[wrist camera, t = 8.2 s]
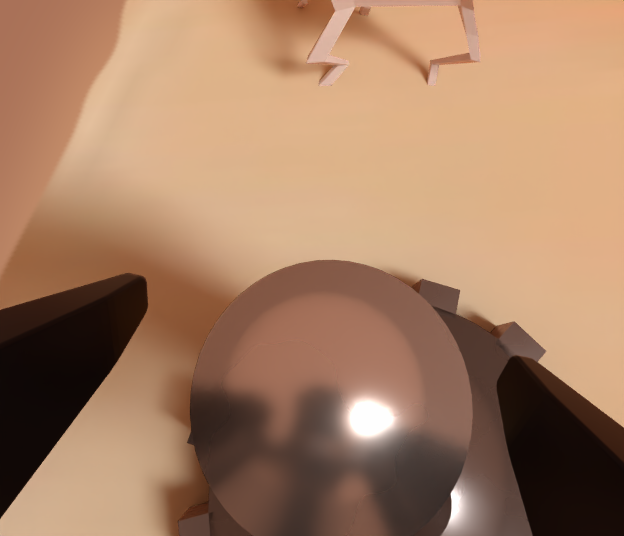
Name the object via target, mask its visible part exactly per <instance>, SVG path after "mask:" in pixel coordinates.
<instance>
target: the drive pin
mask: <svg viewBox="0 0 624 536" xmlns="http://www.w3.org/2000/svg"><path fill="white" fill-rule="evenodd" d="M190 419H191V431H192V437H193V441H194V446H195V451H196V454H197V457H198V460H199V463H200V466H201V469H202V471H203V474H204V476H205V478H206V480H207V482H208V484H209V486H210V488H211V489H212V491H213V493H214V494H215V496H216V497H217V499H218V500H219V502H220V503H221V504H222V506H223V507H224V509H225V510H226V511H227V512H228V513H229V514H230V515H231V516H232V517H233V518H234V520H235V521H236V522H237V523H238V524H239V525H240V526H242V527H243V528H244V529H245V530H247V531H248V532H249V533H250V534H252V535H253V536H413V535H415V534H416V533H417V532H418V531H419V530H420V529H422V528H423V527H424V526H425V525H426V524H428V522H429V521H430V520H431V519H432V518H433V517H434V516H435V515H436V513H437V512H438V511H439V510H440V509H441V508H442V506H443V505H444V503H445V502H446V500H447V499H448V497H449V496H450V494H451V493H452V491H453V489H454V487H455V485H456V483H457V481H458V479H459V477H460V475H461V472H462V469H463V466H464V463H465V460H466V457H467V454H468V449H469V444H470V439H471V433H472V419H473V409H472V394H471V388H470V382H469V376H468V373H467V369H466V366H465V363H464V359H463V357H462V354H461V352H460V350H459V347H458V345H457V343H456V341H455V339H454V337H453V335H452V334H451V332H450V330H449V328H448V327H447V325H446V324H445V322H444V321H443V320H442V318H441V317H440V316H439V314H438V313H437V312H436V310H435V309H434V308H433V307H432V306H431V305H430V304H429V303H428V302H427V301H426V300H425V299H424V298H423V297H422V296H421V295H420V294H418V293H417V292H416V291H415V290H414V289H412V288H411V287H410V286H408V285H407V284H405V283H404V282H402V281H401V280H399V279H397V278H396V277H394V276H392V275H390V274H388V273H386V272H384V271H382V270H379V269H376V268H373V267H370V266H367V265H364V264H359V263H354V262H350V261H339V260H317V261H310V262H304V263H299V264H296V265H292V266H289V267H285V268H283V269H280V270H278V271H276V272H274V273H271V274H269V275H267V276H266V277H264V278H262V279H260V280H259V281H257V282H255V283H254V284H253V285H251V286H250V287H249V288H247V289H246V290H245V291H244V292H242V293H241V294H240V295H239V296H238V297H237V298H236V299H235V300H234V301H233V302H232V303H231V304H230V305H229V306H228V307H227V308H226V310H225V311H224V312H223V313H222V315H221V316H220V317H219V319H218V320H217V321H216V323H215V325H214V326H213V328H212V330H211V331H210V333H209V335H208V336H207V338H206V341H205V343H204V345H203V348H202V350H201V352H200V355H199V358H198V361H197V365H196V368H195V371H194V376H193V382H192V388H191V399H190Z"/></svg>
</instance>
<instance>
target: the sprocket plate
mask: <svg viewBox="0 0 624 536" xmlns="http://www.w3.org/2000/svg"><path fill="white" fill-rule="evenodd" d="M412 289H414V290H415V291H416V292H417V293H418V294H420V295H421V296H422V297H423V298H424V299H425V300H426V301H427V302H428V303H429V304H430V305H431V306H432V307H433V308H434V309H435V310H436V312H437V313H438V314H439V316H440V317H441V318H442V320H443V321H444V322H445V324H446V325H447V327H448V328H449V330H450V332H451V334H452V335H453V337H454V339H455V341H456V343H457V345H458V347H459V350H460V352H461V354H462V357H463V359H464V363H465V366H466V369H467V373H468V376H469V382H470V388H471V394H472V409H473V419H472V433H471V439H470V444H469V449H468V454H467V457H466V460H465V463H464V466H463V469H462V472H461V475H460V477H459V479H458V481H457V483H456V485H455V487H454V489H453V491H452V493H451V494H450V496H449V497H448V499H447V500H446V502H445V503H444V505H443V506H442V508H441V509H440V510H439V511H438V512H437V513H436V515H435V516H434V517H433V518H432V519H431V520H430V521H429V522H428V524H426V525H425V526H424V527H423V528H422V529H420V530H419V531H418V532H417V533H416V534H415V535H413V536H532V532H531V529H530V525H529V522H528V519H527V515H526V512H525V508H524V505H523V502H522V498H521V495H520V491H519V488H518V484H517V481H516V478H515V474H514V471H513V467H512V464H511V460H510V457H509V453H508V449H507V444H506V440H505V434H504V429H503V423H502V417H501V412H500V406H499V401H498V395H497V389H496V384H497V380H498V378H499V376H500V374H501V372H502V371H503V369H504V367H505V365H506V364H507V362H508V360H509V359H510V357H512V356H513V355H519V356H524V357H529V358H532V359H534V360H535V361H537V362H538V361H539V359H540V358H541V357H542V356H543V355H544V353H545V352H546V350H545V349H543V348H542V347H541V346H540V345H539V344H538V343H537V342H536V341H535V340H534V339H533V338H532V337H531V336H529V335H528V334H527V333H526V332H525V331H524V330H523V329H522V328H521V327H520V326H519V325H518V324H517V323H515V322H510V323H506V324H502V325H498V326H496V327H495V328H494V329H493V331H492V332H491V333H489V332H487V331H486V330H484V329H483V328H481V327H480V326H478V325H477V324H475V323H473V322H471V321H469V320H467V319H465V318H463V317H461V316H459V315H457V314H456V310H457V305H458V299H459V294H460V290H458V289H454V288H451V287H448V286H444V285H441V284H438V283H434V282H431V281H427V280H424V279H421V280H420V281H419V282H418V283H416V284H415V285H414V286H413V287H412ZM187 443H189V444H192V445H194V441H193V437H192V431H191V434H190V437H189V439H188V442H187ZM178 527H179V535H180V536H253V535H252V534H250V533H249V532H248V531H247V530H245V529H244V528H243V527H242V526H240V525H239V524H238V523H237V522H236V521H235V520H234V518H233V517H232V516H231V515H230V514H229V513H228V512H227V511H226V510H225V509H224V507H223V506H222V504H221V503H220V502H219V500H218V499H217V497H216V496H215V494H214V493H213V491H212V489H211V488H210V486H209V502H208V503H204V504H200V505H197V506H193V507H189V509H188V510H187V511H186V512H185V513H184V515H183V516H182V517H181V518H180V519H179V521H178Z"/></svg>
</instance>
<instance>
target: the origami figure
mask: <svg viewBox="0 0 624 536" xmlns="http://www.w3.org/2000/svg"><path fill="white" fill-rule="evenodd" d="M331 1H332V4H333V6H334V9H335V12H334V14H333V16H332V17H331V19H330V20H329V22H328V24H327V25H326V27H325V28H324V30H323V32H322V33H321V35H320V37H319V38H318V40H317V42H316V43H315V45H314V47H313V48H312V50H311V52H310V53H309V55H308V58H307V61H306V63H309V64H326V65H334V66H333V67H332V68H331V69H330V70H329V71H328V72H327V73H326V74H325V76H324V77H323V78H322V79H321V80H320V81H319V86H330V85H332V84H333V83H334V82H335V81H336V79H337V78H338V77H339V76H340V75H341V74H342V72H343V71H344V70H345V69H346V68H347V67H348V66H349V61H348V60H344V59H341V58H338V57H335V56H332V55H329V54H330V52H331V50H332V48H333V46H334V44H335V43H336V41H337V39H338V37H339V35H340V34H341V32H342V30H343V28H344V26H345V25H346V23H347V21H348V19H349V17H350V16H351V14H352V12H353V10H354V9H355V7H360V10H359V12H360V14H361V15H367V16H368V14H369V11H370V8H371V7H374V6H456V5H458V8H459V12H460V15H461V19H462V22H463V26H464V29H465V32H466V35H467V41H468V46H469V52H470V53H466V54H461V55H455V56H450V57H445V58H440V59H435V60H430V65H429V72H428V78H427V84H428V85H434V86H435V84H436V79H437V73H438V67H439V65H445V64H459V63H473V62H480V58H481V53H480V48H479V38H478V31H477V26H476V20H475V14H474V7H473V0H331ZM307 4H308V2H307V0H301V1H300V2H299V3H298V5H297V7H302V8H303V7H304V6H306V5H307Z"/></svg>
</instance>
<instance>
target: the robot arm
mask: <svg viewBox="0 0 624 536" xmlns="http://www.w3.org/2000/svg"><path fill="white" fill-rule="evenodd" d="M147 308H148V297H147V282H146V279H145V278H144V277H143V276H140V275H136V274H131V273H126V274H122V275H119V276H115V277H112V278H108V279H105V280H102V281H98V282H95V283H91V284H88V285H84V286H81V287H77V288H74V289H71V290H67V291H64V292H60V293H57V294H53V295H50V296H46V297H43V298H40V299H36V300H33V301H29V302H26V303H22V304H19V305H16V306H12V307H9V308H5V309H2V310H0V518H1V517H2V516H3V514H4V513H5V512H6V510H7V509H8V508H9V506H10V505H11V504H12V502H13V501H14V500H15V498H16V497H17V496H18V494H19V493H20V492H21V490H22V489H23V488H24V486H25V485H26V484H27V482H28V481H29V480H30V478H31V477H32V476H33V474H34V473H35V472H36V470H37V469H38V468H39V466H40V465H41V464H42V462H43V461H44V460H45V458H46V457H47V455H48V454H49V453H50V451H51V450H52V449H53V447H54V446H55V445H56V443H57V442H58V441H59V439H60V438H61V437H62V435H63V434H64V433H65V431H66V430H67V429H68V427H69V426H70V425H71V423H72V422H73V421H74V419H75V418H76V417H77V415H78V414H79V413H80V411H81V410H82V409H83V407H84V406H85V405H86V403H87V402H88V401H89V399H90V398H91V397H92V395H93V394H94V393H95V391H96V390H97V389H98V387H99V386H100V385H101V383H102V382H103V381H104V379H105V378H106V377H107V375H108V374H109V373H110V371H111V370H112V368H113V367H114V365H115V364H116V362H117V361H118V359H119V358H120V356H121V354H122V353H123V351H124V349H125V348H126V346H127V344H128V343H129V341H130V339H131V337H132V336H133V334H134V332H135V331H136V329H137V327H138V326H139V324H140V322H141V320H142V319H143V317H144V315H145V313H146V311H147ZM496 389H497V395H498V401H499V406H500V412H501V417H502V423H503V429H504V434H505V440H506V444H507V449H508V453H509V457H510V460H511V464H512V467H513V471H514V474H515V478H516V481H517V484H518V488H519V491H520V495H521V498H522V502H523V505H524V508H525V512H526V515H527V519H528V522H529V525H530V529H531V532H532V536H624V428H623V427H622V426H621V425H620V424H618V423H617V422H616V421H614V420H613V419H612V418H610V417H609V416H608V415H606V414H605V413H604V412H602V411H601V410H600V409H598V408H597V407H596V406H594V405H593V404H592V403H591V402H589V401H588V400H587V399H585V398H584V397H583V396H581V395H580V394H579V393H577V392H576V391H575V390H573V389H572V388H571V387H569V386H568V385H567V384H565V383H564V382H563V381H562V380H560V379H559V378H558V377H556V376H555V375H554V374H552V373H551V372H550V371H548V370H547V369H546V368H544V367H543V366H542V365H540V364H539V363H538V362H537V361H535V360H534V359H532V358H529V357H524V356H519V355H513V356H512V357H510V359H509V360H508V362H507V364H506V365H505V367H504V369H503V371H502V372H501V374H500V376H499V378H498V380H497V384H496Z"/></svg>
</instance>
